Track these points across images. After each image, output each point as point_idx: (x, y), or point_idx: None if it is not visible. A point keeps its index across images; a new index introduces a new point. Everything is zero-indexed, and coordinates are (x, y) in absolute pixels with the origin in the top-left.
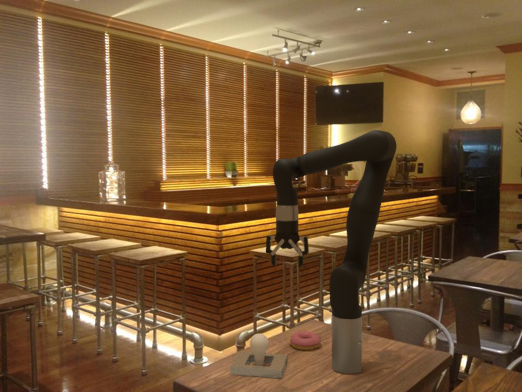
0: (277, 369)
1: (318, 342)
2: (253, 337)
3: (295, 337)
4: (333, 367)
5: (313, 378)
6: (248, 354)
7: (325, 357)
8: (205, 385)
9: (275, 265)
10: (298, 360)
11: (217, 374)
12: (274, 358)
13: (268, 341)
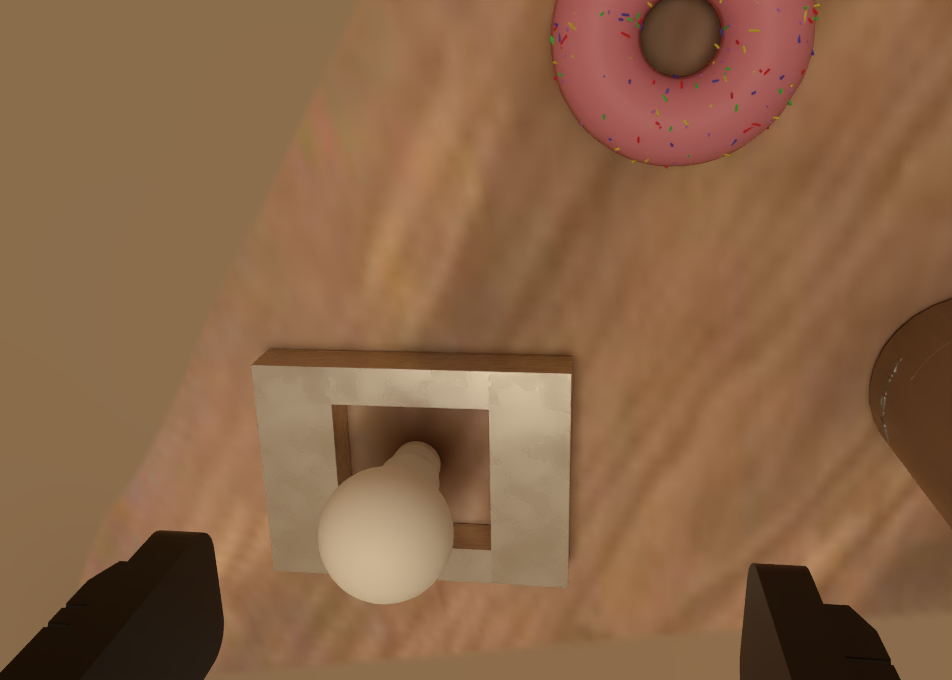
0: (540, 577)
1: (795, 89)
2: (339, 583)
3: (601, 103)
4: (881, 431)
5: (746, 538)
6: (321, 407)
7: (832, 240)
8: (217, 657)
9: (215, 634)
10: (642, 319)
11: (225, 552)
12: (496, 441)
13: (447, 544)
